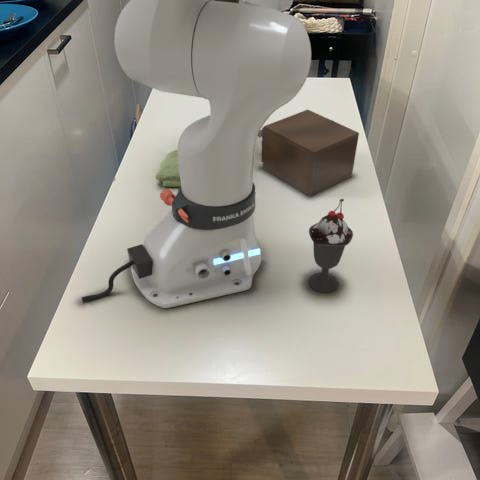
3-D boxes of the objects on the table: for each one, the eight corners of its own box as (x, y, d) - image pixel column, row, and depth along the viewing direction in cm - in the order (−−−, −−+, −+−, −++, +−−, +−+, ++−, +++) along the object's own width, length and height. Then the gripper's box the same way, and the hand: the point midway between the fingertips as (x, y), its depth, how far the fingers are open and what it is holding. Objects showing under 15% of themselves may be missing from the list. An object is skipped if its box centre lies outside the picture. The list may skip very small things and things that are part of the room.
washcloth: (167, 157, 112) (166, 143, 110) (245, 160, 111) (245, 147, 109) (155, 188, 103) (152, 174, 101) (239, 192, 102) (238, 178, 100)
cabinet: (262, 168, 109) (263, 126, 102) (304, 151, 114) (307, 109, 107) (309, 196, 101) (314, 152, 94) (351, 176, 106) (359, 132, 99)
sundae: (342, 270, 84) (356, 193, 74) (344, 297, 80) (359, 218, 69) (303, 268, 85) (311, 191, 74) (303, 295, 80) (312, 216, 70)
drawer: (249, 155, 111) (249, 120, 105) (286, 139, 116) (288, 106, 110) (304, 187, 101) (307, 151, 96) (342, 169, 106) (347, 133, 101)
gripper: (304, -52, 86) (298, 36, 96) (231, -67, 97) (232, 13, 107) (277, -47, 84) (274, 43, 94) (205, -63, 95) (209, 18, 105)
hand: (251, 27), depth 101 cm, fingers closed
